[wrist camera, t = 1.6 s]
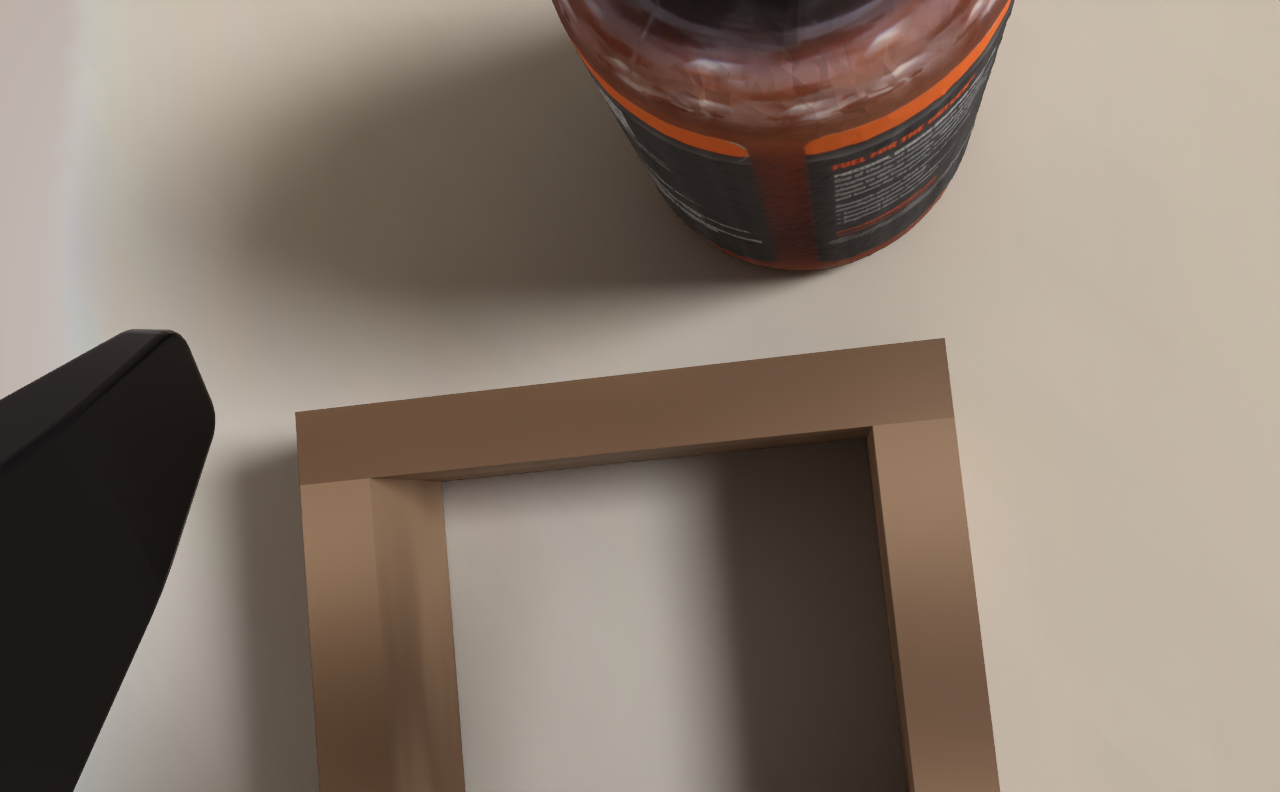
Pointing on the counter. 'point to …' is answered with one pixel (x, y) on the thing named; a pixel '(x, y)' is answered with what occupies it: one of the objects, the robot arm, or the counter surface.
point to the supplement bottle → (793, 112)
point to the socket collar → (608, 434)
